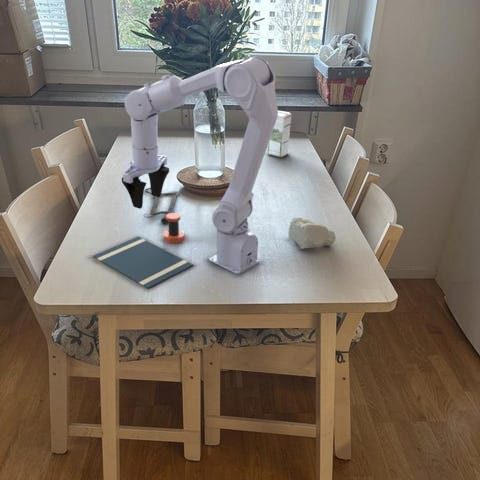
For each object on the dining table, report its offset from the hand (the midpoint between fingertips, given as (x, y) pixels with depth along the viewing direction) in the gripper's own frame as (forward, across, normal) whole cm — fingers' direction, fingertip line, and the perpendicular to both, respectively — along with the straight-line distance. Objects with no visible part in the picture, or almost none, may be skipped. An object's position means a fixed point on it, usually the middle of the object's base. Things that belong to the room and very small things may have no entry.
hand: (147, 201), depth 122 cm
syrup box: (+10, -78, +2) cm, 79 cm away
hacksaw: (+11, -18, -10) cm, 24 cm away
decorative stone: (+9, -20, +37) cm, 43 cm away
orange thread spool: (+10, -4, +5) cm, 12 cm away
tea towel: (+10, +9, +5) cm, 15 cm away
